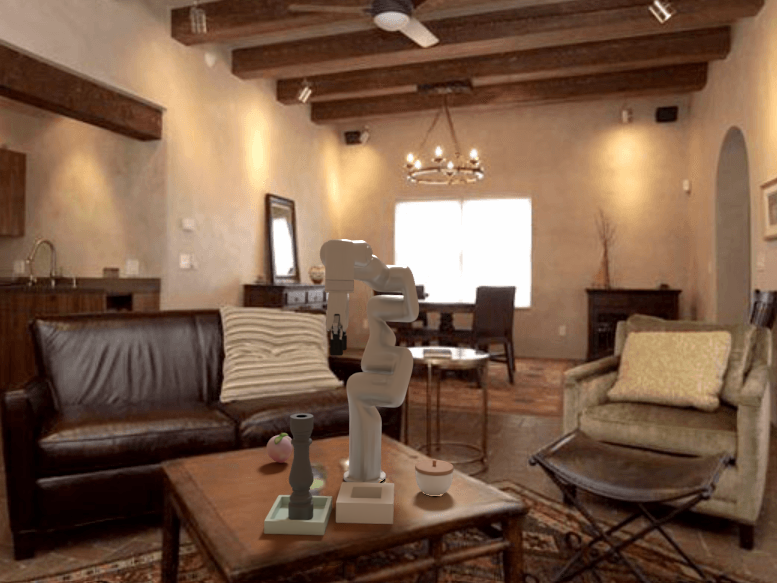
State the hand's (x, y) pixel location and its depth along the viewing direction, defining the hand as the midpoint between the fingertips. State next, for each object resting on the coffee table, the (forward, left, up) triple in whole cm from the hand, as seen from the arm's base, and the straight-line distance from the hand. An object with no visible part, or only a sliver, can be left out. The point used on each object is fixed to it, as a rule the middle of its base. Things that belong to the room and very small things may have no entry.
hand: (338, 352), depth 154 cm
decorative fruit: (-32, -22, -40) cm, 56 cm away
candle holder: (+10, -8, -40) cm, 42 cm away
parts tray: (+10, -8, -40) cm, 42 cm away
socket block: (+4, +8, -40) cm, 41 cm away
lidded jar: (-10, +26, -40) cm, 49 cm away
